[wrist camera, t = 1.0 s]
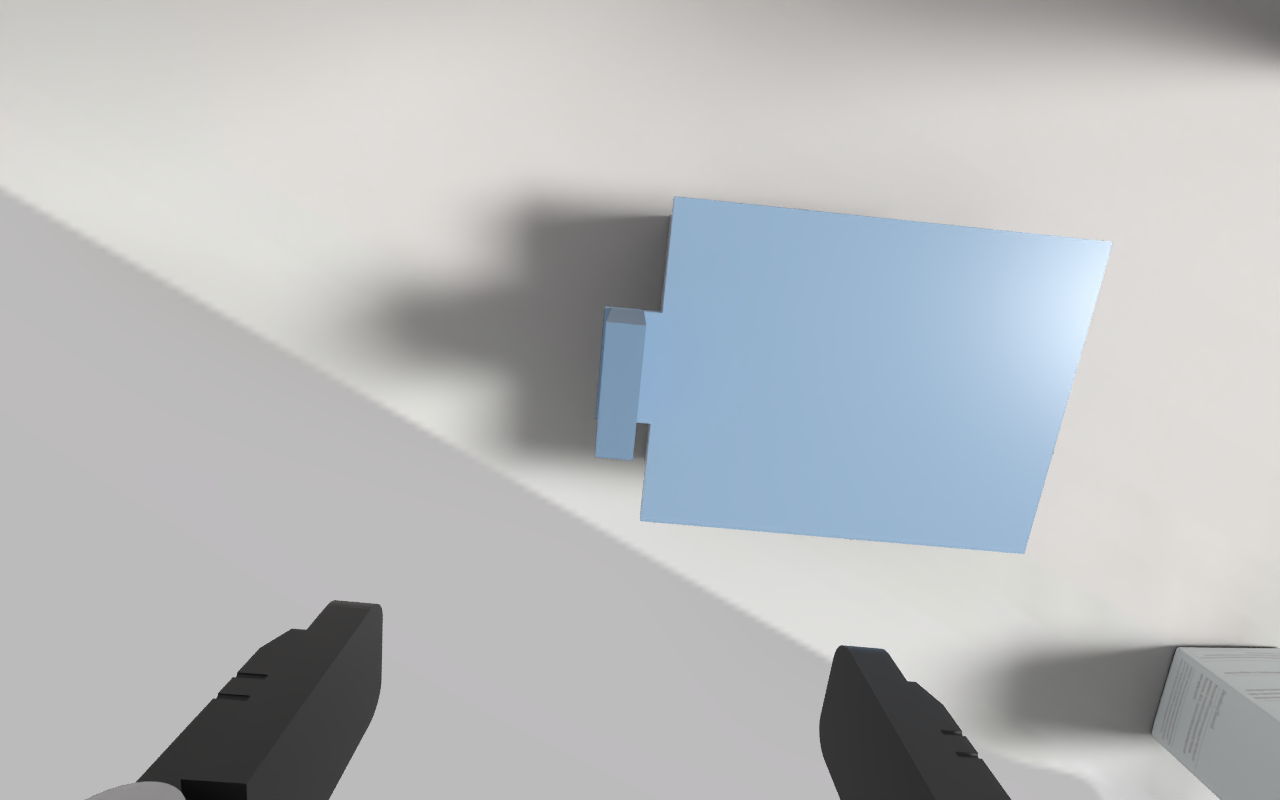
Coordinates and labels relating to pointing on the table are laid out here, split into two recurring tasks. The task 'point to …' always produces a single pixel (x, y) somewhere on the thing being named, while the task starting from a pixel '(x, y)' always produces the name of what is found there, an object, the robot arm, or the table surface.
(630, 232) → the table surface
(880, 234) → the tub lid
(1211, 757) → the supplement box
